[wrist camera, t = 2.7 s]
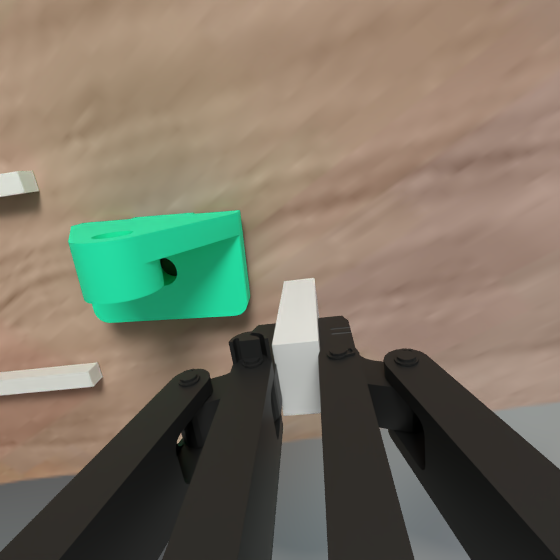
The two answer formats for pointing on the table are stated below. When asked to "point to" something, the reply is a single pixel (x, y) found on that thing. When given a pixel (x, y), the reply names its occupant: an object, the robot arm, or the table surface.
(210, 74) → the table surface
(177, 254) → the camera mount
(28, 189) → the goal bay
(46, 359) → the table surface
